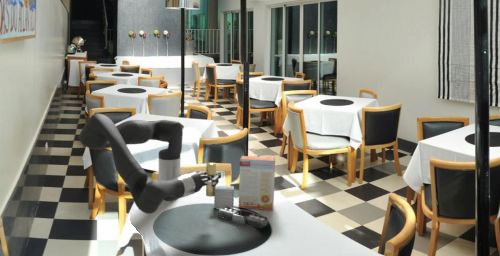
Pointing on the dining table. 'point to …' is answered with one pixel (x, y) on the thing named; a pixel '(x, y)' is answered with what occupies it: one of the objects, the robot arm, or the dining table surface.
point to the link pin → (211, 170)
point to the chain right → (256, 220)
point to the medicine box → (224, 196)
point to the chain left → (229, 212)
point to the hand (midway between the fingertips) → (215, 173)
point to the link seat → (241, 217)
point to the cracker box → (256, 182)
